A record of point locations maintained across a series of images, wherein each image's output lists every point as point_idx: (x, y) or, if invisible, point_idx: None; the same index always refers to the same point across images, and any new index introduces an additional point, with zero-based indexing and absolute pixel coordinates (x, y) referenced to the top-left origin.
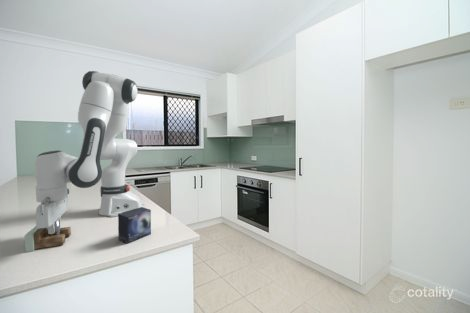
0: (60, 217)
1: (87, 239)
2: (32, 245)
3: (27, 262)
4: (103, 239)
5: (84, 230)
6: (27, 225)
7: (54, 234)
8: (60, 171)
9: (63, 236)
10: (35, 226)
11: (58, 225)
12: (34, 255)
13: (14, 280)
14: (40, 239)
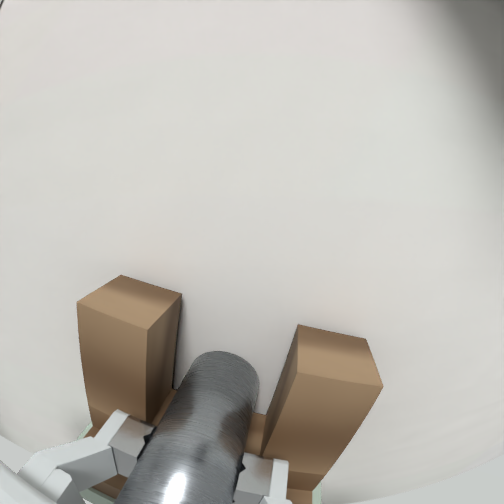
0: (36, 462)
1: (350, 133)
2: (319, 488)
3: (448, 446)
4: (424, 28)
5: (81, 166)
6: None
7: (247, 436)
8: None
9: (347, 374)
10: None
11: (210, 483)
12: (391, 445)
13: None
14: (306, 488)
